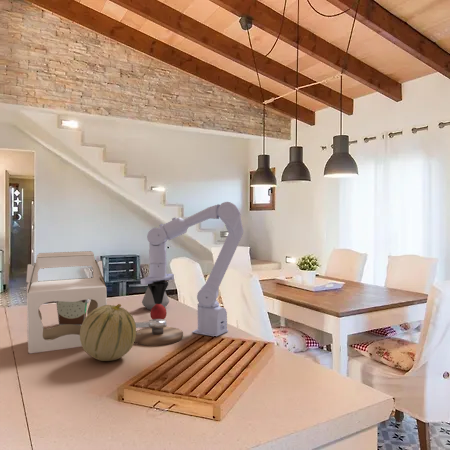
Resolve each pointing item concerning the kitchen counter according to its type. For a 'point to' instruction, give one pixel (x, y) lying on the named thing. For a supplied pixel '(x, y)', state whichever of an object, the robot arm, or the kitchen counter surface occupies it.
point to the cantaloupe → (108, 332)
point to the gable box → (61, 298)
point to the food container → (71, 312)
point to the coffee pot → (149, 300)
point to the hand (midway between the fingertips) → (158, 303)
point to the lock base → (158, 336)
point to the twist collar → (152, 323)
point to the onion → (158, 312)
